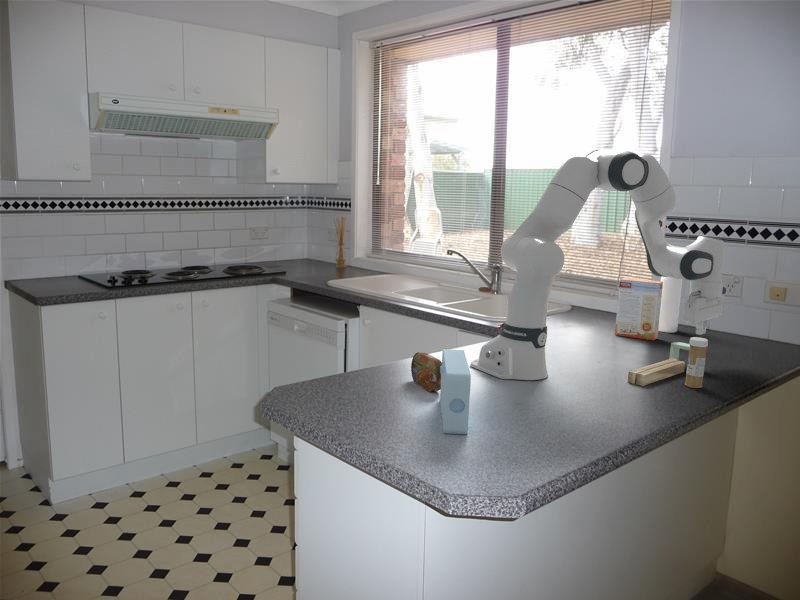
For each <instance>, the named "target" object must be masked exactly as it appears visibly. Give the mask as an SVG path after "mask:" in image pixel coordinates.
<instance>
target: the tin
mask: <svg viewBox="0 0 800 600" xmlns="http://www.w3.org/2000/svg"><path fill="white" fill-rule="evenodd" d="M440 366H442V360H441V359H438V358H437V357H435V356H432V355H431V354H430V353H427V352H419V351H417V352H415V354H413V356H412V359H411V366H410V368H411V369H410V372H411V378H412V380H413V382H414V383H415V384H416V385H417V386H419V387H421V388H422V389H423V390H426V391H427V392H439V391H440V390H441V373H440Z"/></svg>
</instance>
